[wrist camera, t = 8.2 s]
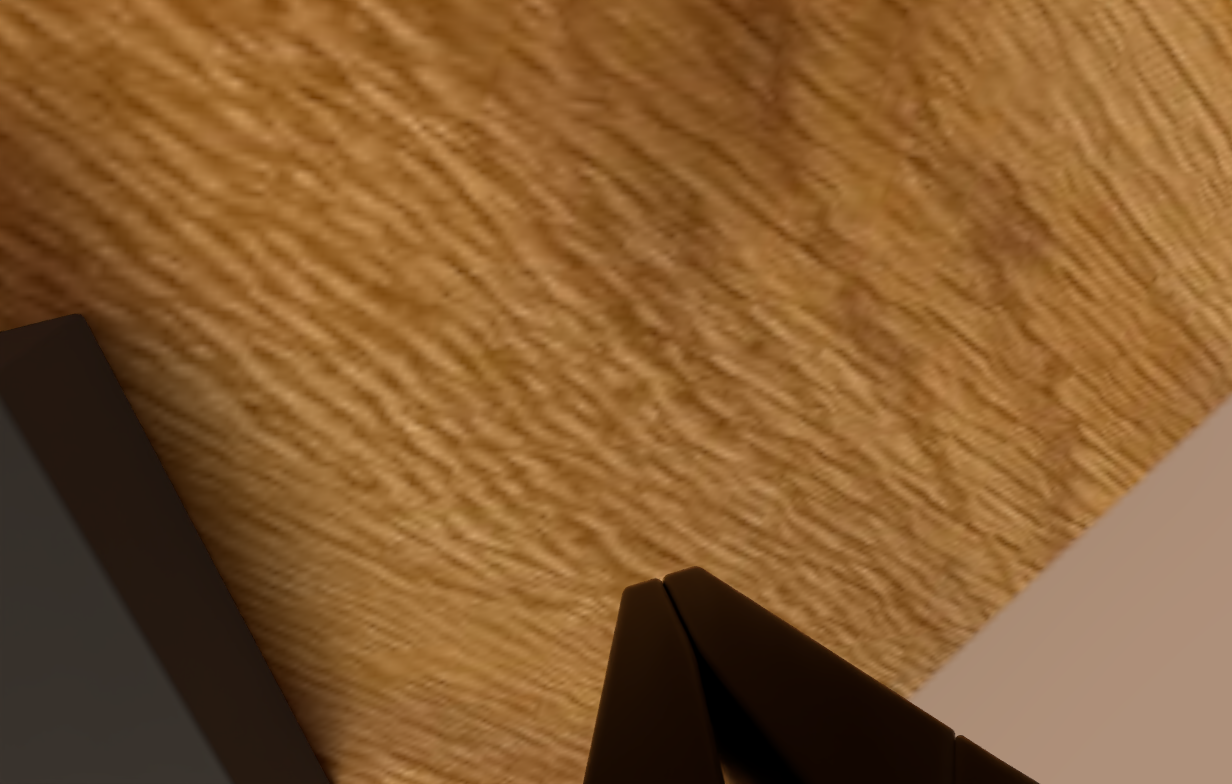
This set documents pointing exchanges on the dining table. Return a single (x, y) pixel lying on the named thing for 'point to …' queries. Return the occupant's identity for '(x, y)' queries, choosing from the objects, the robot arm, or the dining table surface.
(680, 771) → the robot arm
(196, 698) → the dark grey tabbed block
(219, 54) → the dining table surface
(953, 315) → the dining table surface
